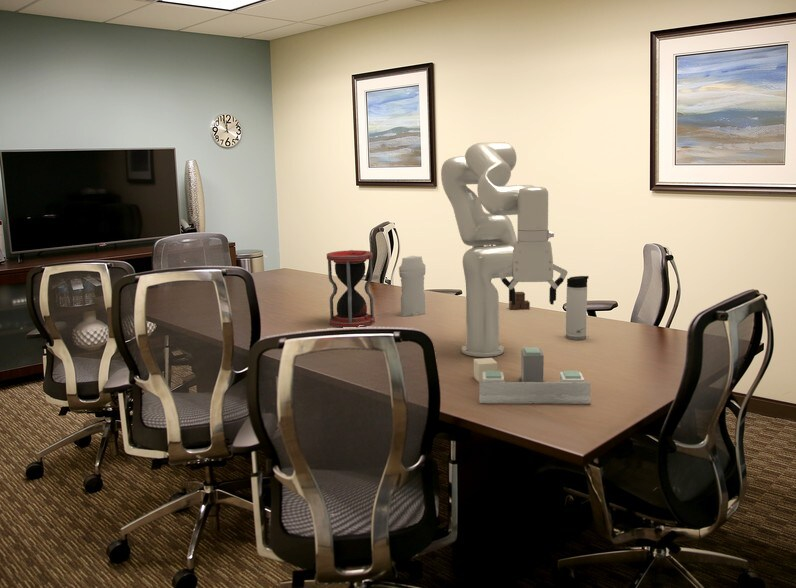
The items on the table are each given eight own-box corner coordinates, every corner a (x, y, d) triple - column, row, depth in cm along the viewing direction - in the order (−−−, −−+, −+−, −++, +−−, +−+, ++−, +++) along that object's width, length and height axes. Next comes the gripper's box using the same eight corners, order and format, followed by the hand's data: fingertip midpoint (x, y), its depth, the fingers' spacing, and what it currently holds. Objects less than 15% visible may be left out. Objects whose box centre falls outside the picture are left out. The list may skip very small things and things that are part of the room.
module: (521, 377, 193) (521, 346, 192) (540, 377, 193) (540, 346, 191) (523, 385, 187) (523, 353, 185) (543, 385, 186) (543, 353, 184)
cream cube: (473, 377, 195) (473, 359, 194) (491, 375, 196) (491, 357, 195) (478, 382, 190) (478, 364, 189) (497, 381, 191) (497, 362, 190)
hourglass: (373, 327, 251) (371, 255, 246) (327, 328, 252) (323, 257, 247) (376, 317, 267) (373, 249, 262) (332, 318, 267) (329, 250, 262)
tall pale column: (402, 317, 265) (401, 257, 261) (398, 315, 269) (396, 256, 265) (428, 314, 269) (427, 255, 265) (423, 312, 273) (422, 253, 269)
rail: (479, 400, 176) (479, 380, 175) (588, 400, 174) (589, 380, 173) (479, 403, 174) (479, 383, 173) (590, 403, 172) (590, 383, 171)
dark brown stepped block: (533, 304, 283) (533, 287, 282) (542, 313, 269) (542, 295, 267) (494, 306, 283) (494, 288, 282) (501, 314, 268) (501, 296, 267)
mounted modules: (482, 391, 183) (482, 369, 182) (579, 391, 181) (580, 369, 180) (483, 399, 177) (483, 377, 176) (583, 399, 175) (584, 377, 174)
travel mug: (583, 341, 227) (584, 278, 223) (562, 338, 230) (564, 276, 226) (589, 336, 232) (591, 274, 228) (569, 334, 235) (571, 273, 232)
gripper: (565, 234, 185) (564, 300, 188) (497, 235, 187) (497, 301, 190) (569, 237, 178) (568, 306, 181) (498, 239, 180) (498, 307, 183)
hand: (532, 303), depth 186 cm, fingers open, 9 cm apart
